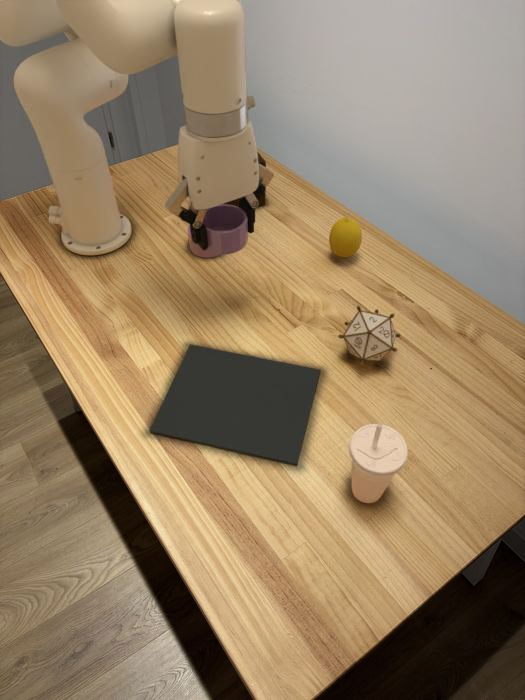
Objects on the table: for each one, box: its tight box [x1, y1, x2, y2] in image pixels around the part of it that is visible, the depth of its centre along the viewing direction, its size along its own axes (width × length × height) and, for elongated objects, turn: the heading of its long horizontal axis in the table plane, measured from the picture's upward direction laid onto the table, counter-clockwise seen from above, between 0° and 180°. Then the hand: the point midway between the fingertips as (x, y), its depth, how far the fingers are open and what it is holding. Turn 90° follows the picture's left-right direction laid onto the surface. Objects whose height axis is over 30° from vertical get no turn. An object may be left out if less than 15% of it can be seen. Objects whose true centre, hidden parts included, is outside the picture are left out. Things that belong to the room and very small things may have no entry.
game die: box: [337, 304, 402, 367], centre depth 79 cm, size 9×8×10 cm
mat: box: [149, 343, 321, 467], centre depth 77 cm, size 20×16×1 cm
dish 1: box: [187, 224, 222, 259], centre depth 99 cm, size 7×7×4 cm
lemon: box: [328, 217, 363, 258], centre depth 95 cm, size 6×6×8 cm
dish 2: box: [203, 204, 249, 256], centre depth 79 cm, size 7×7×4 cm
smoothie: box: [348, 422, 409, 504], centre depth 63 cm, size 6×6×14 cm
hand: (224, 235), depth 80 cm, fingers closed on dish 2, 6 cm apart
